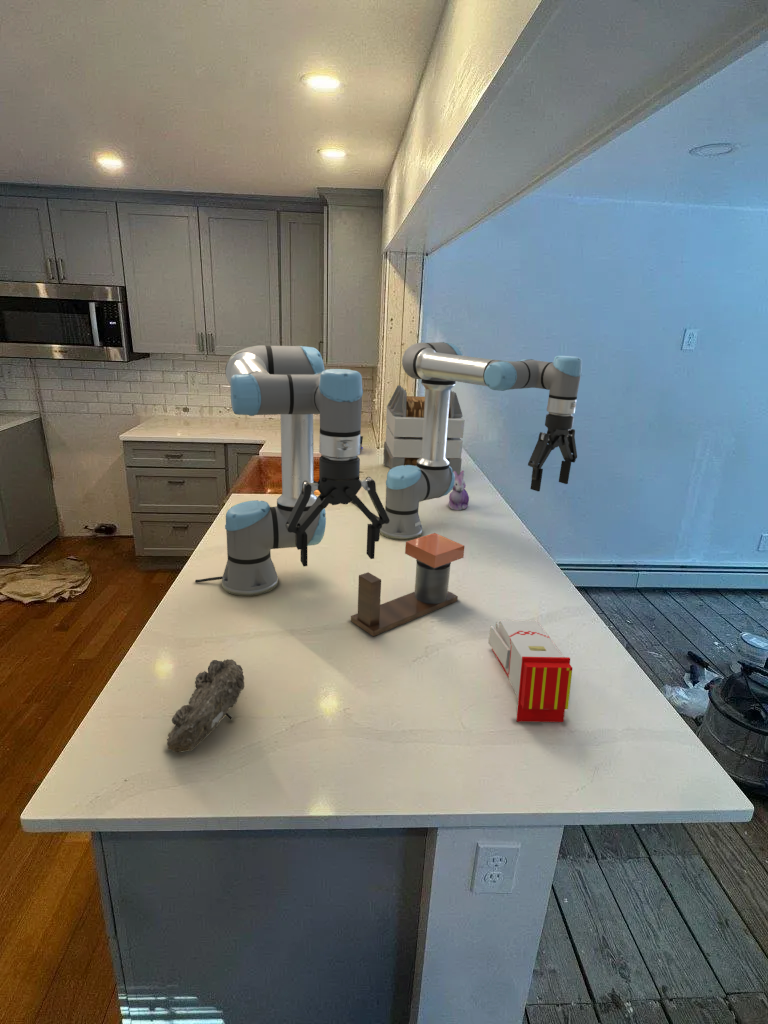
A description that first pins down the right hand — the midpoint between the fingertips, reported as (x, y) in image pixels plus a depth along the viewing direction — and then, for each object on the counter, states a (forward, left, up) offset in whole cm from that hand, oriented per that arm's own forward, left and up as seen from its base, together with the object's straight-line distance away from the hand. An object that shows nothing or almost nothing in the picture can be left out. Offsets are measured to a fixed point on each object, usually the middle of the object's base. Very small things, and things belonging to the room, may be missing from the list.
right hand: (549, 486), depth 165 cm
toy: (+30, -48, -28) cm, 63 cm away
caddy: (-7, -48, -28) cm, 56 cm away
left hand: (+5, -80, 0) cm, 80 cm away
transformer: (-101, +47, -28) cm, 115 cm away
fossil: (+1, -106, -28) cm, 109 cm away
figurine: (-56, +26, -28) cm, 68 cm away
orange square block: (-7, -39, -16) cm, 43 cm away
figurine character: (-151, +48, -28) cm, 161 cm away
